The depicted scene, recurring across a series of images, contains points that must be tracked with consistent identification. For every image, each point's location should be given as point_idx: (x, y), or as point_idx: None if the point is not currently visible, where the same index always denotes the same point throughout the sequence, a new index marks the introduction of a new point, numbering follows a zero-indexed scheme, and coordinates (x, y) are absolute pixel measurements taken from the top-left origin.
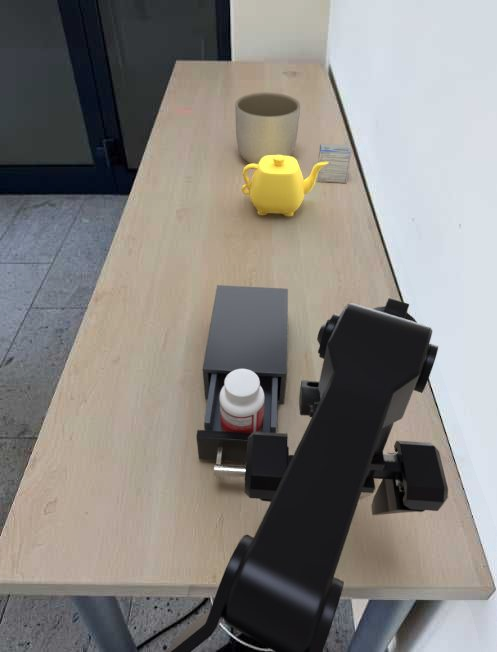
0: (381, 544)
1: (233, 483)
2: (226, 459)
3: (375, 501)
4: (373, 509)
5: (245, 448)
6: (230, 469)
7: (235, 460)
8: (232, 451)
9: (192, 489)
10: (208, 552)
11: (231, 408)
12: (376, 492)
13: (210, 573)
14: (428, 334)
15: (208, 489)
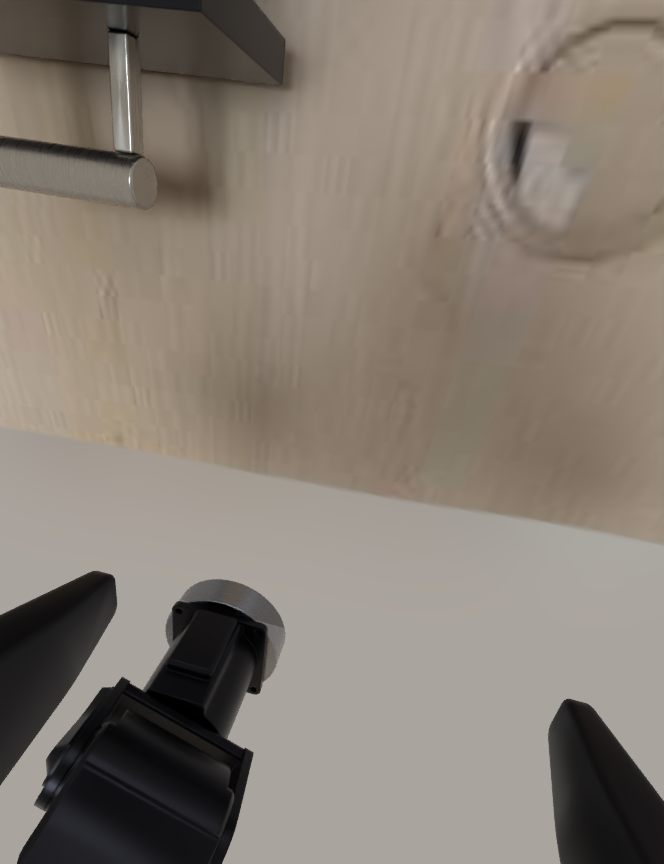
0: (592, 430)
1: None
2: (64, 56)
3: (592, 832)
4: (561, 767)
5: (66, 26)
6: (12, 170)
7: (100, 61)
8: (33, 34)
9: None
10: (95, 383)
11: None
12: (634, 858)
13: (109, 431)
14: None
15: None
